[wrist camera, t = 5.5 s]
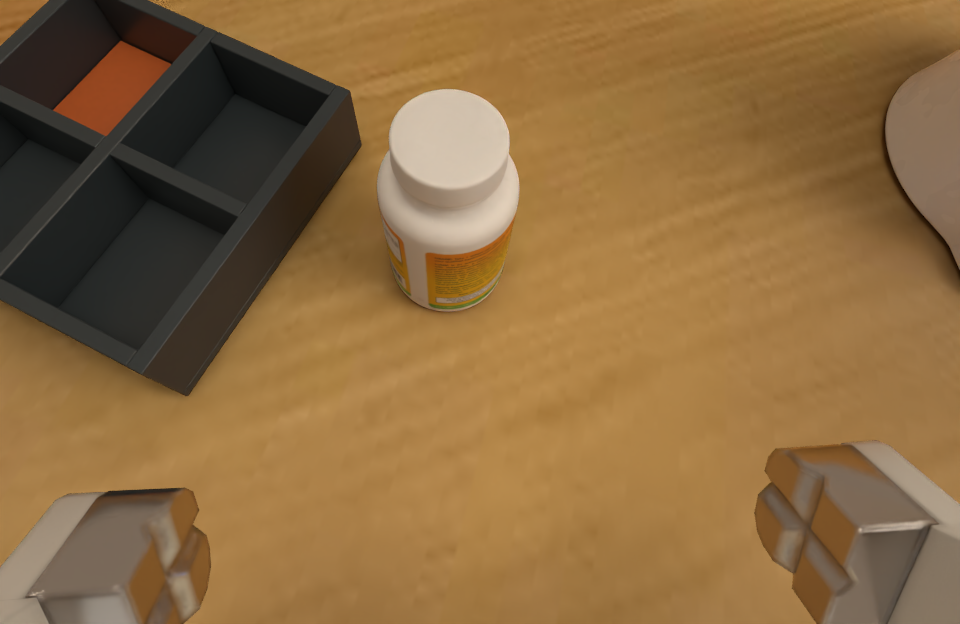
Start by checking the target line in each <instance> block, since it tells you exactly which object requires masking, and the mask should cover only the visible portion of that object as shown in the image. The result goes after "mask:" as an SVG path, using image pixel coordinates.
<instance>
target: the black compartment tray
mask: <svg viewBox="0 0 960 624" xmlns="http://www.w3.org/2000/svg"><path fill="white" fill-rule="evenodd" d="M360 146H361V140H360V135H359V130H358V126H357V121H356V116H355V112H354V107H353V103H352V98H351V93H350V91H349V90H347V89H345V88H343V87H340V86H338V85H337V86H336V85H335V84H333V83H331V82H329V81H326V80H324V79H322V78H320V77H317V76H315V75H313V74H311V73H309V72H306V71H304V70H302V69H300V68H297V67H295V66H293V65H291V64H289V63H286V62H284V61H282V60H280V59H277V58H275V57H273V56H271V55H268V54H266V53H264V52H262V51H260V50H257V49H255V48H253V47H251V46H248V45H246V44H244V43H242V42H240V41H237V40H235V39H233V38H231V37H228V36H226V35H224V34H222V33H220V32H217V31H215V30H213V29H211V28H208V27H205V26H204V25H202V24H199V23H197V22H195V21H193V20H190V19H188V18H186V17H184V16H181V15H179V14H177V13H175V12H173V11H170V10H168V9H166V8H164V7H161V6H159V5H157V4H155V3H153V2H150V1H148V0H49V1H48V2H47V3H46V4H45V5H44V6H43V7H42V8H41V9H39V10H38V11H37V12H36V13H35V14H34V15H33V16H32V17H31V18H30V19H29V20H28V21H27V22H26V23H24V24H23V25H22V26H21V27H20V28H19V29H18V30H17V31H16V32H15V33H14V34H13V35H12V36H11V37H9V38H8V39H7V40H6V41H5V42H4V43H3V44H2V45H1V46H0V300H1V301H3V302H5V303H7V304H9V305H11V306H13V307H15V308H17V309H18V310H20V311H22V312H24V313H26V314H28V315H30V316H32V317H34V318H35V319H37V320H39V321H41V322H43V323H45V324H47V325H49V326H51V327H52V328H54V329H56V330H58V331H60V332H62V333H64V334H66V335H68V336H69V337H71V338H73V339H75V340H77V341H79V342H81V343H83V344H85V345H86V346H88V347H90V348H92V349H94V350H96V351H98V352H100V353H102V354H103V355H105V356H107V357H109V358H111V359H113V360H115V361H117V362H119V363H120V364H122V365H124V366H126V367H128V368H130V369H132V370H134V371H136V372H137V373H139V374H141V375H143V376H145V377H147V378H150V379H152V380H154V381H156V382H158V383H160V384H162V385H164V386H166V387H168V388H170V389H173V390H175V391H177V392H179V393H181V394H183V395H185V396H188V395H189V393H190V392H191V390H192V389H193V387H194V386H195V384H196V383H197V382H198V380H199V379H200V377H201V376H202V374H203V373H204V371H205V370H206V369H207V367H208V366H209V364H210V363H211V361H212V360H213V358H214V357H215V356H216V354H217V353H218V351H219V350H220V348H221V347H222V346H223V344H224V343H225V341H226V340H227V338H228V337H229V335H230V334H231V333H232V331H233V330H234V328H235V327H236V325H237V324H238V322H239V321H240V320H241V318H242V317H243V315H244V314H245V312H246V311H247V309H248V308H249V307H250V305H251V304H252V302H253V301H254V299H255V298H256V296H257V295H258V294H259V292H260V291H261V289H262V288H263V286H264V285H265V284H266V282H267V281H268V279H269V278H270V276H271V275H272V273H273V272H274V271H275V269H276V268H277V266H278V265H279V263H280V262H281V260H282V259H283V258H284V256H285V255H286V253H287V252H288V250H289V249H290V247H291V246H292V245H293V243H294V242H295V240H296V239H297V237H298V236H299V234H300V233H301V232H302V230H303V229H304V227H305V226H306V224H307V223H308V221H309V220H310V219H311V217H312V216H313V214H314V213H315V211H316V210H317V209H318V207H319V206H320V204H321V203H322V201H323V200H324V198H325V197H326V196H327V194H328V193H329V191H330V190H331V188H332V187H333V185H334V184H335V183H336V181H337V180H338V178H339V177H340V175H341V174H342V172H343V171H344V170H345V168H346V167H347V165H348V164H349V162H350V161H351V159H352V158H353V157H354V155H355V154H356V152H357V151H358V149H359V148H360Z"/></svg>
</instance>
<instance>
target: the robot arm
mask: <svg viewBox="0 0 960 624" xmlns="http://www.w3.org/2000/svg"><path fill="white" fill-rule="evenodd" d="M885 135H886V144H887V150H888V154H889V157H890V161H891V164H892V166H893V169H894V171H895V174H896V176H897V178H898V180H899V182H900V184H901V185H902V187H903V189H904V190H905V192H906V194H907V195H908V197H909V198H910V200H911V201H912V202H913V204H914V205H915V206H916V208H917V209H918V210H919V211H920V212H921V214H922V215H923V216H924V217H925V218H926V219H927V220H928V221H929V222H930V224H931V225H932V226H933V227H934V228H935V229H936V230H937V231H938V232H939V234H940V235H941V236H942V237H943V238H944V240H945V241H946V243H947V244H948V245H949V247H950V249H951V251H952V254H953V256H954V258H955V261H956V263H957V265H958V267H959V270H960V49H958V50H957V51H955V52H953V53H952V54H950V55H948V56H946V57H945V58H943V59H941V60H939V61H938V62H936V63H934V64H932V65H930V66H928V67H926V68H924V69H922V70H920V71H919V72H917V73H915V74H914V75H912V76H911V77H909V78H908V79H907V80H906V81H905V82H904V83H903V84H902V85H901V86H900V87H899V89H898V90H897V91H896V93H895V95H894V96H893V98H892V100H891V102H890V105H889V108H888V112H887V116H886V124H885ZM765 472H766V474H767V476H768V477H769V479H770V481H771V483H770V484H769V485H768V486H767V487H766V488H765V489H763V490H762V491H761V492H760V493H759V494H758V498H757V503H756V507H755V512H754V513H755V520H756V527H757V532H758V535H759V537H760V539H761V542H762V544H763V546H764V548H765V549H766V551H767V552H768V554H769V555H770V557H771V558H772V560H773V561H774V562H775V563H777V564H779V565H780V566H782V567H783V568H785V569H786V570H788V571H790V572H791V573H793V581H792V589H793V590H794V592H795V593H796V595H797V596H798V598H799V599H800V600H801V602H802V603H803V605H804V606H805V608H806V609H807V610H808V612H809V613H810V615H811V616H812V618H813V619H814V621H815V622H816V623H817V624H960V504H959V503H958V502H957V501H955V500H954V499H953V498H952V497H951V496H949V495H948V494H947V493H946V492H945V491H943V490H942V489H941V488H940V487H939V486H937V485H936V484H935V483H934V482H933V481H931V480H930V479H929V478H928V477H927V476H925V475H924V474H923V473H922V472H921V471H919V470H918V469H917V468H916V467H915V466H913V465H912V464H911V463H910V462H909V461H907V460H906V459H905V458H904V457H903V456H901V455H900V454H899V453H898V452H897V451H895V450H894V449H893V448H892V447H891V446H889V445H887V444H885V443H882V442H880V441H877V440H872V441H860V442H849V443H842V444H832V445H819V446H805V447H792V448H778V449H775V450H774V451H773V452H772V453H771V455H770V456H769V457H768V460H767V464H766V467H765ZM198 512H199V508H198V505H197V502H196V499H195V496H194V493H193V491H191V490H189V489H187V488H168V489H145V490H122V491H108V492H93V493H70V494H67V495H65V496H63V497H61V498H59V499H57V500H55V501H54V502H53V504H52V505H51V506H50V507H49V508H48V510H47V511H46V512H45V513H44V515H43V516H42V517H41V518H40V519H39V521H38V522H37V523H36V524H35V525H34V527H33V528H32V529H31V530H30V532H29V533H28V534H27V535H26V536H25V538H24V539H23V540H22V541H21V542H20V544H19V545H18V546H17V547H16V549H15V550H14V551H13V552H12V553H11V555H10V556H9V557H8V558H7V559H6V561H5V562H4V563H3V564H2V566H1V567H0V624H184V623H185V622H186V621H187V620H188V619H189V618H190V617H192V616H193V615H194V614H195V613H196V612H197V611H198V610H199V609H200V607H201V604H202V601H203V599H204V596H205V593H206V591H207V587H208V581H209V575H210V568H211V559H210V547H209V544H208V540H207V536H206V535H205V534H204V533H203V532H202V531H200V530H199V529H198V528H196V527H195V526H194V525H193V522H194V520H195V518H196V516H197V514H198Z"/></svg>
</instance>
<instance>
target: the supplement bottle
mask: <svg viewBox="0 0 960 624" xmlns="http://www.w3.org/2000/svg"><path fill="white" fill-rule="evenodd" d="M509 148H510V137H509V131H508V128H507V125H506V123H505V121H504V119H503V117H502V116H501V114H500V113H499V111H498V110H497V109H496V108H495V107H494V106H493V105H491V104H490V103H489V102H488V101H486V100H485V99H483V98H481V97H480V96H478V95H475V94H472V93H470V92H466V91H463V90H455V89H440V90H433V91H429V92H426V93H423V94H421V95H418V96H416V97H415V98H413V99H411V100H410V101H408V102H407V103H406V104H405V105H404V106H403V107H402V108H401V109H400V110H399V111H398V113H397V114H396V116H395V118H394V119H393V121H392V124H391V127H390V131H389V151H388V152H387V153H386V155H385V157H384V159H383V161H382V163H381V166H380V169H379V173H378V179H377V195H378V204H379V208H380V213H381V217H382V222H383V227H384V232H385V238H386V242H387V247H388V252H389V257H390V262H391V266H392V270H393V273H394V276H395V279H396V281H397V283H398V285H399V286H400V288H401V289H402V290H403V292H404V293H405V294H406V295H407V296H408V297H409V298H410V299H412V300H413V301H414V302H416V303H417V304H419V305H421V306H423V307H426V308H428V309H432V310H436V311H445V312H451V311H459V310H464V309H467V308H470V307H472V306H475V305H476V304H478V303H480V302H481V301H482V300H484V299H485V298H486V297H487V296H488V295H489V294H490V293H491V292H492V291H493V289H494V288H495V286H496V285H497V283H498V281H499V279H500V276H501V273H502V271H503V267H504V263H505V258H506V253H507V249H508V245H509V240H510V236H511V232H512V227H513V223H514V219H515V215H516V211H517V207H518V200H519V178H518V173H517V170H516V167H515V165H514V162H513V160H512V158H511V157H510V155H509Z"/></svg>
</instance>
